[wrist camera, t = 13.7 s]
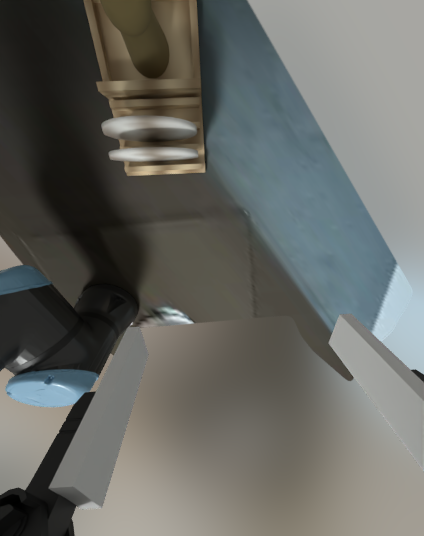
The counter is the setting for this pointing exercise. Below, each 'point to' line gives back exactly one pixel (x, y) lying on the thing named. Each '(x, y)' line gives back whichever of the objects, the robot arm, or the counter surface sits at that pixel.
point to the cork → (140, 34)
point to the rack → (153, 93)
